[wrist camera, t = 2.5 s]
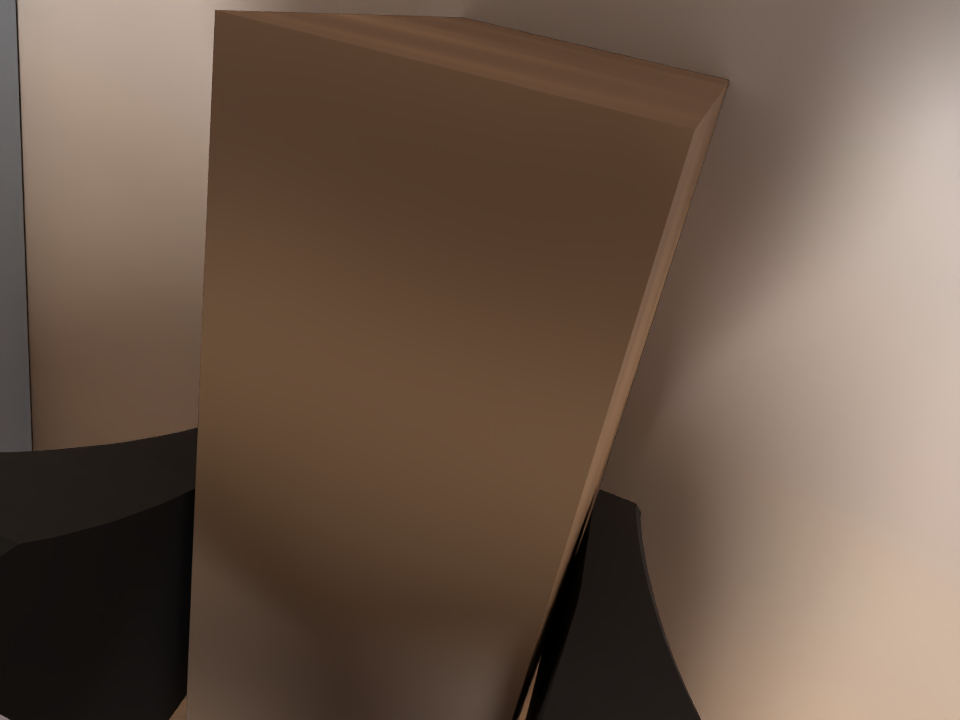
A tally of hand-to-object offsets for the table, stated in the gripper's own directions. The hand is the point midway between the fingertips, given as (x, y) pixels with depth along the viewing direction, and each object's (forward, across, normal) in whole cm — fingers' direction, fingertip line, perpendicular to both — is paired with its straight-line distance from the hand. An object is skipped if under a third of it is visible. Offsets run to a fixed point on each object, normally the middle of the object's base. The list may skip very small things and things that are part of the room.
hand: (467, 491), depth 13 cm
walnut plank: (+1, 0, 0) cm, 1 cm away
